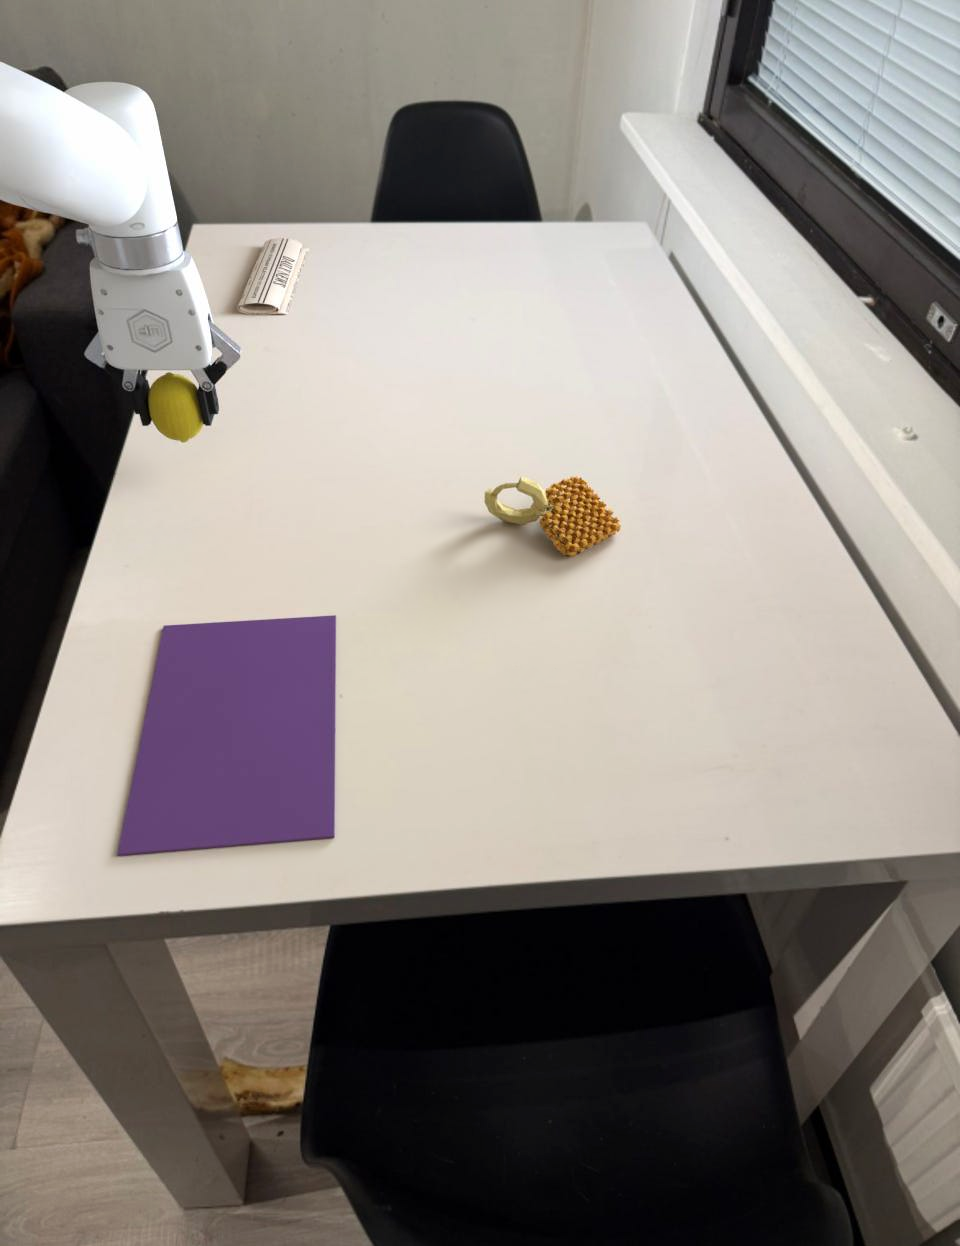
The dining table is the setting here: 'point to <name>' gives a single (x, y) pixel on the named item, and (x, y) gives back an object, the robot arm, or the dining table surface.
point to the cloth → (236, 738)
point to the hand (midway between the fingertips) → (179, 417)
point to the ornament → (560, 512)
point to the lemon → (175, 407)
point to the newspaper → (274, 278)
